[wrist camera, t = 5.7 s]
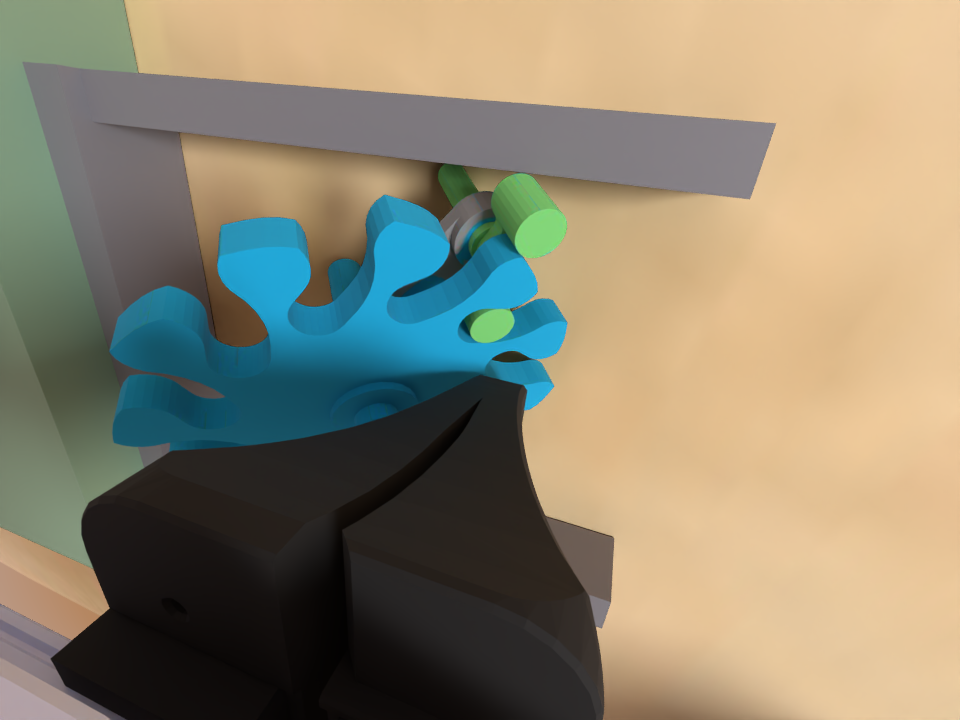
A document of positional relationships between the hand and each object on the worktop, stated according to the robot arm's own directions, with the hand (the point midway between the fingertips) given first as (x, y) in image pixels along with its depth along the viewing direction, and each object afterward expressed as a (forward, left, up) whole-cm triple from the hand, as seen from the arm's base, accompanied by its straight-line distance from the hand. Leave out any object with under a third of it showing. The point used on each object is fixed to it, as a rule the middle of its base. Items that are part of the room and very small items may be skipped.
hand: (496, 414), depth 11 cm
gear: (+1, +3, -3) cm, 4 cm away
